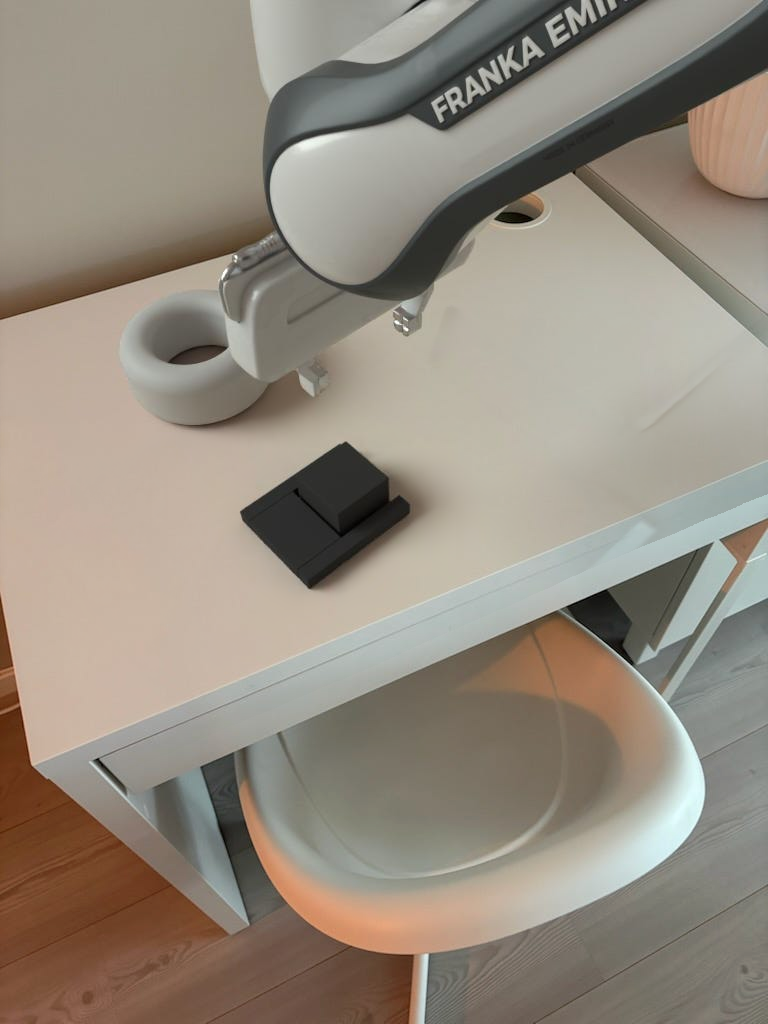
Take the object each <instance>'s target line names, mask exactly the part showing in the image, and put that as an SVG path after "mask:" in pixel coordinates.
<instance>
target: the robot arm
mask: <svg viewBox="0 0 768 1024" xmlns="http://www.w3.org/2000/svg"><path fill="white" fill-rule="evenodd" d="M249 9H250V17H251V24H252V33H253V38H254V39H253V41H254V46H255V53H256V59H257V66H258V72H259V77H260V82H261V84H262V88H263V90H264V92H265V94H266V96H267V98H268V100H269V101H268V102H269V103H270V104H269V107H268V110H267V113H266V120H265V124H264V131H263V143H262V144H263V145H262V180H263V181H262V182H263V190H264V197H265V201H266V205H267V206H266V207H267V210H268V214H269V216H270V220H271V222H272V225H273V227H274V229H275V230H274V231H271V232H270V233H268V234H267V235H266V236H264V237H263V238H262V239H260V240H259V241H257V242H255V243H253V244H248V245H245V246H243V247H242V248H240V249H238V250H237V251H236V252H235V253H234V254H233V255H232V256H231V262H230V263H229V264H228V265H227V266H226V268H225V269H224V270H223V272H222V274H221V275H220V277H219V278H218V279H217V291H218V292H219V296H220V300H221V304H222V307H223V309H224V312H225V322H226V331H227V337H228V343H229V348H230V352H231V355H232V357H233V359H234V360H235V361H236V362H237V363H238V364H239V365H240V366H241V367H242V368H243V369H244V370H245V371H246V372H247V373H249V374H250V375H251V376H252V377H254V378H256V379H258V380H260V381H263V382H265V383H269V384H273V383H275V382H277V381H278V380H280V379H281V378H283V377H285V376H286V375H288V374H289V373H291V372H292V371H295V372H297V373H298V376H299V377H298V378H299V384H300V387H302V389H303V390H304V391H305V392H306V393H308V395H310V396H311V397H312V398H315V397H317V396H318V395H320V394H322V393H323V392H324V391H326V390H327V389H329V388H330V387H331V384H330V382H329V380H330V376H329V372H328V371H327V370H326V369H325V368H324V367H320V365H319V364H318V363H317V362H316V361H315V358H316V357H317V356H319V355H320V354H321V353H323V352H325V351H327V350H328V349H330V348H331V347H333V346H334V345H336V344H338V343H339V342H341V341H342V340H344V339H345V338H347V337H349V336H350V335H352V334H353V333H355V332H357V331H359V330H360V329H362V328H363V327H365V326H367V325H368V324H370V323H371V322H373V321H374V320H376V319H378V318H380V317H381V316H383V315H384V314H385V313H388V312H389V311H391V310H392V309H393V310H392V318H394V319H393V327H394V329H395V330H396V331H397V332H398V333H402V335H403V336H404V337H405V338H407V337H409V336H411V335H413V334H414V333H416V332H417V331H419V330H421V329H422V327H423V313H424V312H425V309H426V307H427V305H428V303H429V301H430V298H431V297H432V295H433V292H434V290H435V283H436V282H437V281H439V280H441V279H442V278H444V277H445V276H446V275H449V274H450V273H452V272H453V271H455V270H456V269H458V268H460V267H461V266H463V265H464V264H465V263H466V262H467V260H468V259H469V257H470V255H471V253H472V251H473V250H474V247H475V244H476V237H477V236H478V235H479V234H480V233H481V232H482V231H483V230H485V229H486V227H487V226H488V225H489V224H491V223H492V221H494V219H496V217H498V216H499V215H500V214H501V213H502V212H503V211H504V210H505V209H507V207H508V206H509V205H510V204H513V203H515V202H516V201H518V200H521V199H522V198H524V197H526V196H528V195H530V194H532V193H533V192H536V191H538V190H540V189H542V188H543V187H545V186H547V185H549V184H551V183H553V182H555V181H557V180H559V179H561V178H563V177H565V176H567V175H569V174H571V173H573V172H575V171H576V170H578V169H580V168H582V167H585V166H586V165H588V164H590V163H592V162H594V161H596V160H598V159H599V158H601V157H603V156H605V155H607V154H609V153H611V152H613V151H615V150H617V149H619V148H621V147H623V146H625V145H627V144H629V143H630V142H633V141H635V140H637V139H638V138H640V137H642V136H644V135H646V134H648V133H650V132H652V131H654V130H655V129H658V128H660V127H662V126H663V125H665V124H668V123H669V122H671V121H673V120H675V119H677V118H679V117H681V116H684V115H685V114H687V113H689V112H691V111H693V110H694V109H696V108H699V107H700V106H703V105H704V104H707V103H709V102H711V101H713V100H714V99H718V98H719V97H721V96H723V95H725V94H726V93H729V92H731V91H733V90H734V89H737V88H739V87H741V86H743V85H744V84H747V83H749V82H752V80H755V79H757V78H759V77H761V76H763V75H765V74H768V0H249ZM394 308H395V309H394Z"/></svg>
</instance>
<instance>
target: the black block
mask: <svg viewBox="0 0 768 1024" xmlns="http://www.w3.org/2000/svg"><path fill="white" fill-rule="evenodd" d="M340 444H341V445H339V446H338V447H336V448H335V449H333V450H332V451H330V450H329V451H330V452H329V453H327V452H326V453H327V454H326V455H324V454H323V455H324V456H323V457H322V458H320V459H319V460H317V461H316V462H314V463H313V464H311V465H310V466H308V467H307V468H305V469H304V470H302V469H301V470H302V471H301V472H299V471H298V472H299V473H298V474H296V473H295V474H296V480H297V485H298V491H299V496H300V497H299V498H300V499H301V500H302V501H303V502H304V503H305V504H306V505H307V506H308V507H310V508H311V509H312V510H313V511H314V512H315V513H316V514H317V515H318V516H319V517H320V518H321V519H322V520H323V521H324V522H325V523H326V524H327V525H328V526H330V527H331V528H332V529H333V530H334V531H335V532H336V533H337V534H338V535H339V536H340V537H341V538H342V537H343V536H344V535H346V534H347V533H348V532H350V531H351V530H352V529H354V528H355V527H356V526H358V525H359V524H360V523H362V522H363V521H364V520H366V519H367V518H369V517H370V516H371V515H373V514H374V513H375V512H377V511H378V510H379V509H381V508H382V507H383V506H385V505H386V504H387V503H389V502H390V478H389V476H387V474H385V473H384V472H383V471H382V470H380V468H378V467H377V466H376V465H374V464H373V462H372V461H370V460H369V459H368V458H367V457H365V456H364V455H363V454H362V453H361V452H359V451H358V449H356V448H355V447H354V446H353V445H351V444H350V443H349V442H348V441H346V440H345V441H344V442H342V443H340Z"/></svg>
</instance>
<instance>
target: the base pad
mask: <svg viewBox="0 0 768 1024" xmlns="http://www.w3.org/2000/svg"><path fill="white" fill-rule="evenodd" d="M341 444H342V443H339V444H337V445H335V446H334V447H333V448H331V449H330V450H328V451H326V452H325V453H324V454H322V455H320V456H319V457H317V458H316V459H314V460H313V461H312V462H310V463H308V464H307V465H306V466H304V467H303V468H301V469H300V470H299V471H297V472H295V473H294V474H293V475H291V476H290V477H288V478H287V479H285V480H283V481H282V482H280V483H279V484H278V485H277V486H276V485H275V487H274V488H272V489H271V490H269V491H267V492H266V493H265V494H263V495H262V496H260V497H258V498H257V499H255V500H254V501H253V502H252V503H250V504H248V505H246V506H245V507H244V508H242V509H241V510H240V511H239V513H240V518H241V520H242V522H243V523H244V524H245V525H246V526H247V527H248V528H249V529H250V530H251V531H252V532H253V533H254V535H256V536H257V538H258V539H260V540H261V541H262V542H263V544H265V546H266V547H267V548H269V550H270V551H271V552H273V554H274V555H275V556H276V557H277V558H278V559H279V560H280V561H281V562H282V563H283V564H284V565H285V566H286V568H288V569H289V570H290V571H291V572H292V574H294V575H295V576H296V577H297V578H298V579H299V580H300V582H302V584H304V586H306V588H307V589H308V590H311V589H312V588H313V587H314V586H316V585H317V584H319V583H320V582H322V581H323V580H324V579H325V578H326V577H328V576H329V575H330V574H332V573H333V572H335V571H336V570H337V569H338V568H340V567H341V566H342V565H343V564H345V563H346V562H348V561H349V560H350V559H352V558H353V557H354V556H356V555H357V554H358V553H360V552H361V551H362V550H363V549H365V548H367V546H369V545H370V544H371V543H373V542H374V541H375V540H377V539H378V538H379V537H381V536H382V535H383V534H385V533H386V532H387V531H388V530H390V529H391V528H392V527H394V526H395V525H396V524H398V523H399V522H400V521H402V520H403V519H404V518H406V517H407V516H408V515H409V514H411V504H410V502H408V501H407V500H406V499H405V498H404V497H402V496H401V495H400V494H398V495H397V496H395V497H394V498H393V499H392V500H389V503H387V504H386V505H385V506H383V507H382V508H381V509H379V510H378V511H377V512H375V513H374V514H373V515H371V516H370V517H369V518H367V519H366V520H364V521H363V522H362V523H360V524H359V525H358V526H356V527H355V528H354V529H352V530H351V531H350V532H348V533H347V534H346V535H344V536H343V537H342V538H341V537H340V536H339V535H338V534H337V533H336V532H335V531H334V530H333V529H332V528H331V527H330V526H328V525H327V524H326V523H325V522H324V521H323V520H322V519H321V518H320V517H319V516H318V515H317V514H316V513H315V512H314V511H313V510H312V509H311V508H310V507H308V506H307V505H306V504H305V503H304V502H303V501H302V500H301V499H300V496H299V491H298V485H297V480H296V474H298V473H299V472H301V471H302V470H304V469H305V468H307V467H308V466H310V465H311V464H313V463H314V462H316V461H317V460H319V459H320V458H322V457H323V456H324V455H326V454H327V453H329V452H330V451H332V450H333V449H335V448H336V447H338V446H339V445H341Z"/></svg>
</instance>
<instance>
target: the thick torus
mask: <svg viewBox="0 0 768 1024" xmlns="http://www.w3.org/2000/svg"><path fill="white" fill-rule="evenodd" d="M203 346H219V347H224V348H225V350H224V351H222V352H221V353H219V354H218V355H216V356H214V357H213V358H209V359H208V360H205V361H201V362H199V363H191V364H175V363H170V361H171V359H173V358H174V357H176V356H177V355H179V354H181V353H183V352H185V351H187V350H191V349H193V348H197V347H203ZM118 354H119V361H120V364H121V367H122V370H123V372H124V375H125V377H126V380H127V382H128V384H129V387H130V389H131V391H132V394H133V396H134V398H135V399H136V401H137V402H138V404H140V406H141V407H142V408H143V409H144V410H145V411H146V412H148V413H149V414H151V415H152V416H154V417H155V418H157V419H161V420H162V421H164V422H165V421H166V422H169V423H172V424H177V425H186V426H200V425H207V424H214V423H219V422H221V421H225V420H227V419H230V418H232V417H234V416H236V415H238V414H240V413H242V412H243V411H246V410H247V409H248V408H249V407H251V406H252V405H254V403H256V401H258V400H259V398H260V397H261V396H262V395H263V394H264V392H265V391H266V389H267V388H268V386H269V384H270V383H265V382H263V381H260V380H258V379H256V378H254V377H252V376H251V375H250V374H249V373H247V372H246V371H245V370H244V369H243V368H242V367H241V366H240V365H239V364H238V363H237V362H236V361H235V360H234V359H233V357H232V355H231V352H230V348H229V343H228V337H227V331H226V322H225V312H224V309H223V307H222V304H221V300H220V296H219V292H218V290H216V289H215V290H214V289H191V290H190V289H189V290H185V291H184V290H183V291H179V292H175V293H172V294H169V295H166V296H163V297H161V298H159V299H156V300H155V301H153V302H151V303H149V304H148V305H146V306H145V307H143V308H142V309H141V310H139V312H137V313H136V314H135V315H134V316H133V317H132V318H131V320H130V321H129V322H128V323H127V325H126V327H125V329H124V330H123V332H122V335H121V338H120V343H119V349H118Z"/></svg>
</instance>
